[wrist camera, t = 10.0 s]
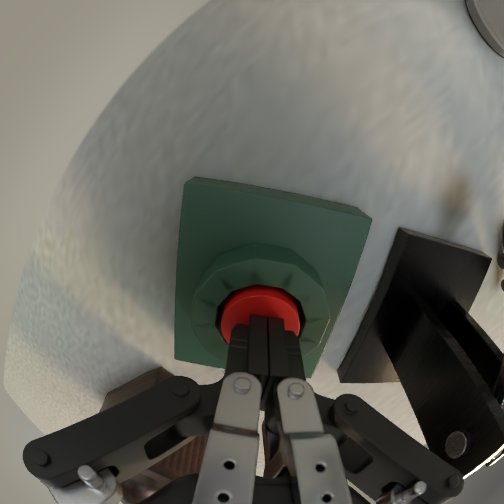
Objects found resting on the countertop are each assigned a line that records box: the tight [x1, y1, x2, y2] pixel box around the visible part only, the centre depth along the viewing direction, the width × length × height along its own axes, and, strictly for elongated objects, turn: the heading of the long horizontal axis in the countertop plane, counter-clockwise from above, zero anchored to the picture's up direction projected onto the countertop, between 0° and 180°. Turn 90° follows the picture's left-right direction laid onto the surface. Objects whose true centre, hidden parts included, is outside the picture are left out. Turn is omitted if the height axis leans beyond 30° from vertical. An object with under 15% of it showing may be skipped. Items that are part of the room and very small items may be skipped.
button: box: [221, 284, 300, 344], centre depth 13 cm, size 4×4×2 cm
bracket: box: [337, 228, 504, 479], centre depth 11 cm, size 12×9×13 cm
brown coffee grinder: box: [99, 367, 209, 504], centre depth 15 cm, size 16×11×18 cm
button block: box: [174, 177, 372, 378], centre depth 14 cm, size 11×9×4 cm
